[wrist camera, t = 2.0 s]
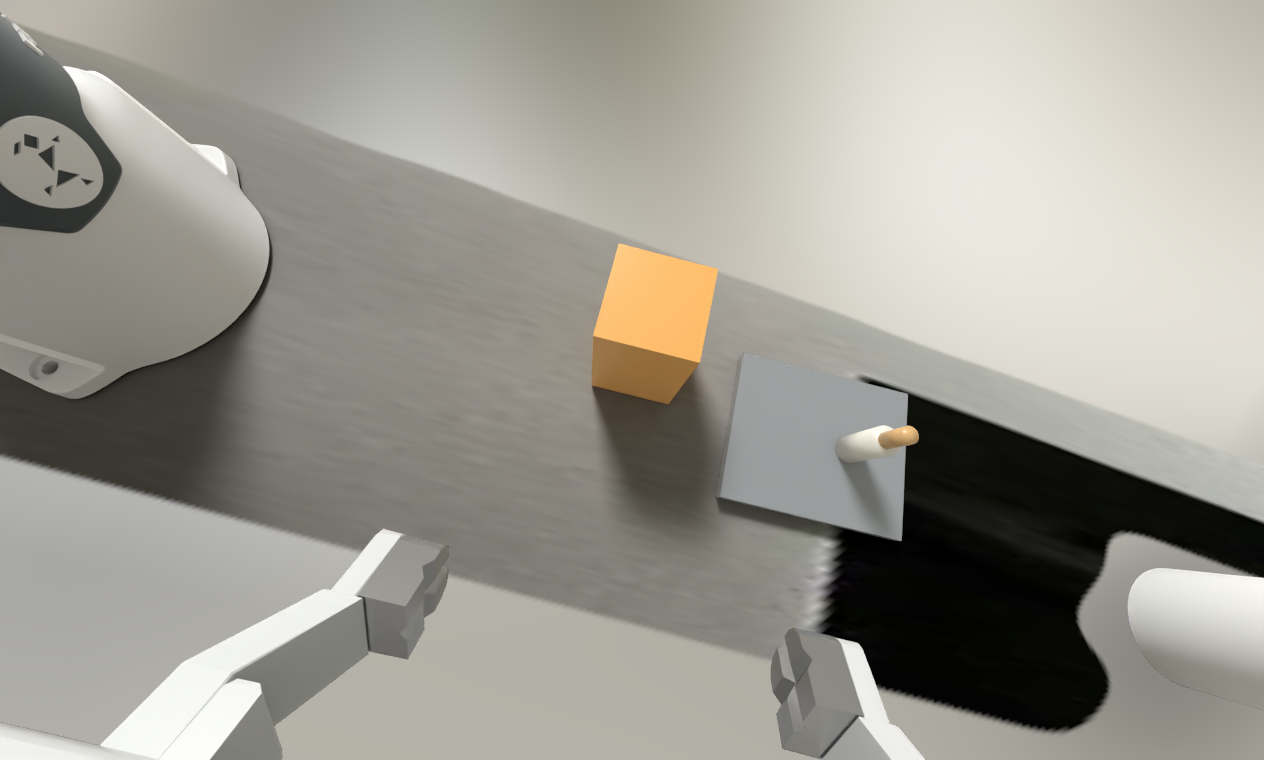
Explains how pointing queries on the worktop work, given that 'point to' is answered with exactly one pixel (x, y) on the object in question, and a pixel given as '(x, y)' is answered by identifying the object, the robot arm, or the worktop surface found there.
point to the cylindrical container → (1202, 630)
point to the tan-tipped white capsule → (874, 443)
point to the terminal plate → (811, 447)
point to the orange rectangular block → (651, 324)
